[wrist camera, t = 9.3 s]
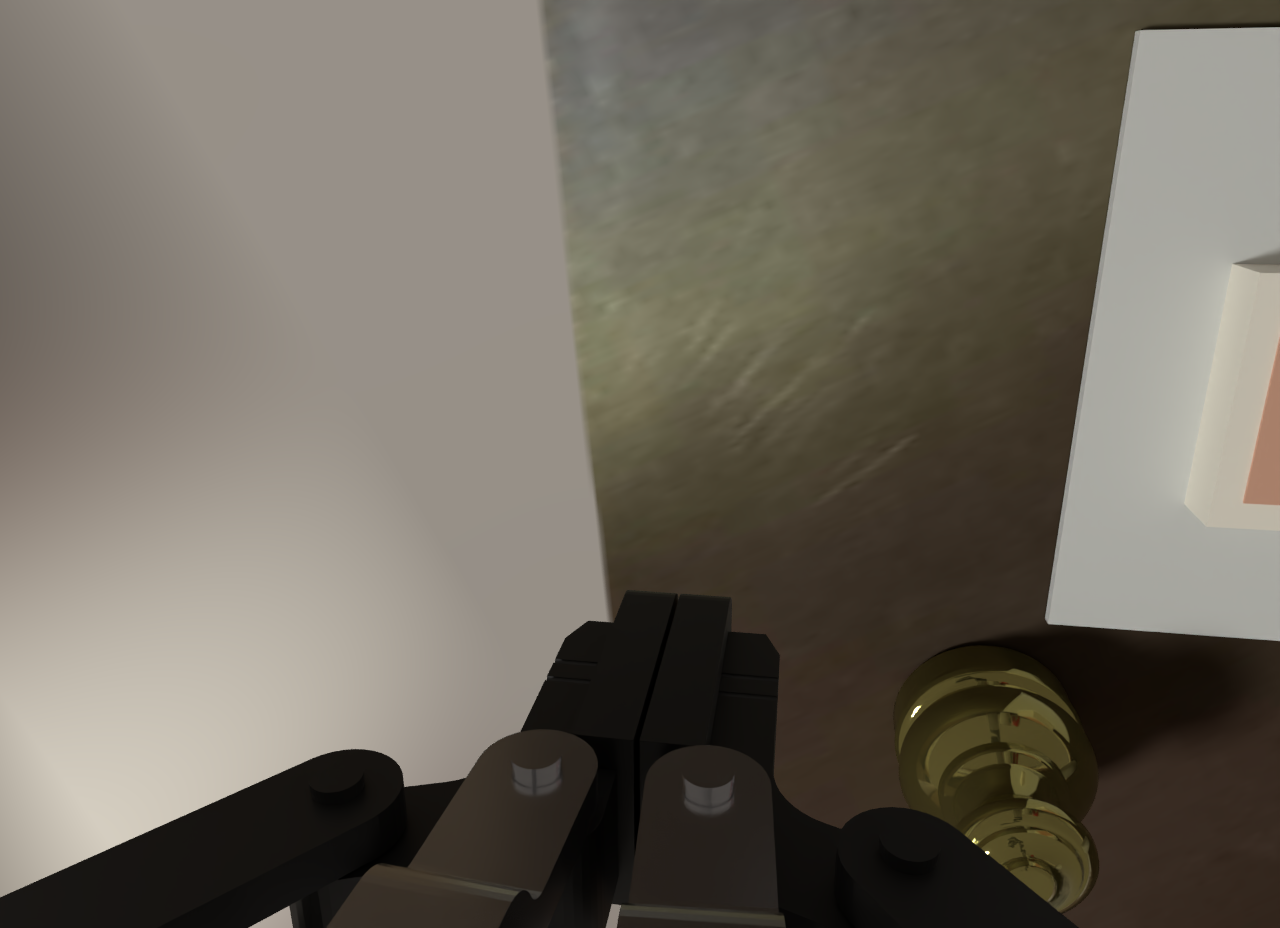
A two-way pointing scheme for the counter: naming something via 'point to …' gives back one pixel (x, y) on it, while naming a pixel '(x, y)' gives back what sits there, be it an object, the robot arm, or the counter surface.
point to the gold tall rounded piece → (1002, 765)
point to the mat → (1171, 343)
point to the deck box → (1242, 410)
